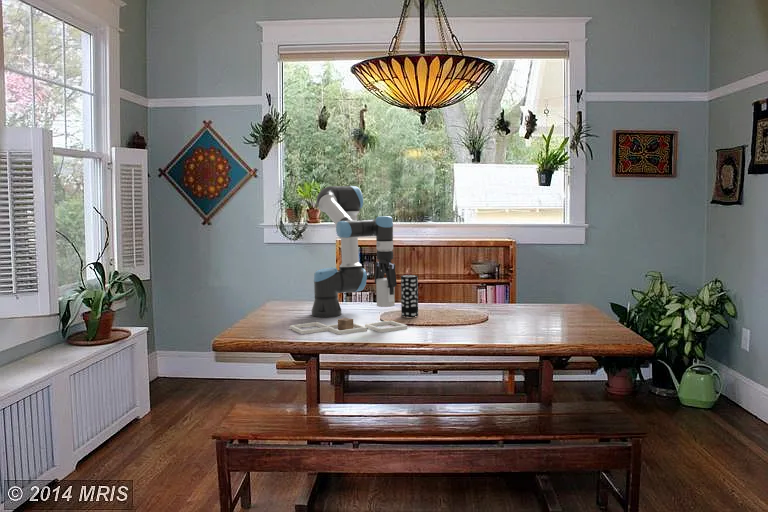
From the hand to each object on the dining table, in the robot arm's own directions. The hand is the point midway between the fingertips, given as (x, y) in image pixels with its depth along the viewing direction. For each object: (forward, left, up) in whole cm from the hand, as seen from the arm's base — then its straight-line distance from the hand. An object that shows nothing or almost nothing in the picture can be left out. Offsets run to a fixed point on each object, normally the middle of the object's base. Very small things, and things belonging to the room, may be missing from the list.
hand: (385, 300), depth 307 cm
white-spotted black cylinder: (-17, +24, -13) cm, 32 cm away
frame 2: (-7, -17, -13) cm, 22 cm away
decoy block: (-7, -17, -13) cm, 23 cm away
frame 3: (0, 0, -13) cm, 13 cm away
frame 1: (-17, -30, -13) cm, 37 cm away
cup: (0, 0, -2) cm, 2 cm away
